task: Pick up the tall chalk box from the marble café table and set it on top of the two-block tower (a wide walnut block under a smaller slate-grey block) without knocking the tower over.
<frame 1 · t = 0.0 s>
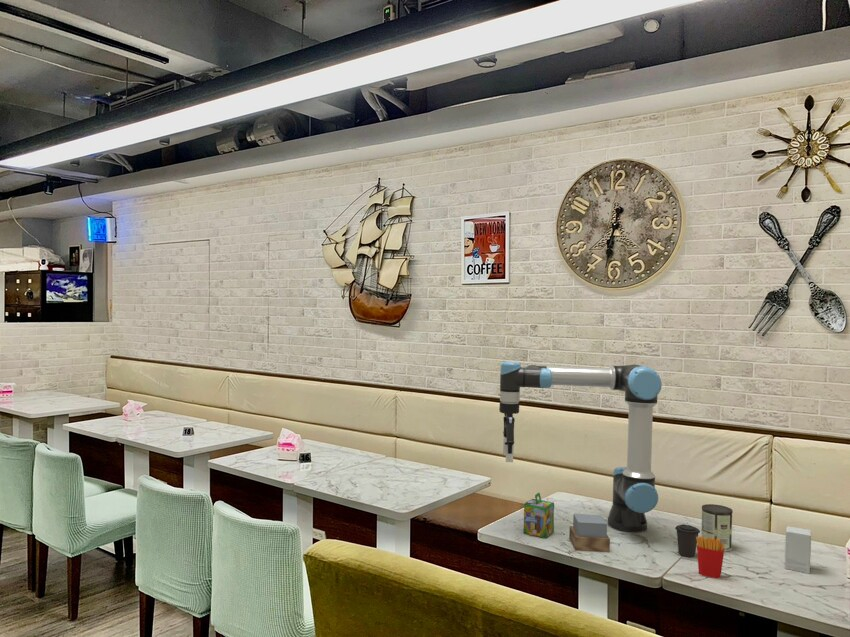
hand: (507, 458, 238), 28 cm above the table, tool pointing down, fingers open, 13 cm apart
french fries: (708, 575, 202), on the table
supplement box: (797, 568, 210), on the table
chalk box: (538, 533, 238), on the table
coffee cup: (686, 555, 219), on the table
coffee can: (715, 547, 228), on the table
slate top block: (589, 532, 226), point 5 cm above the table
walnut base block: (588, 546, 226), on the table
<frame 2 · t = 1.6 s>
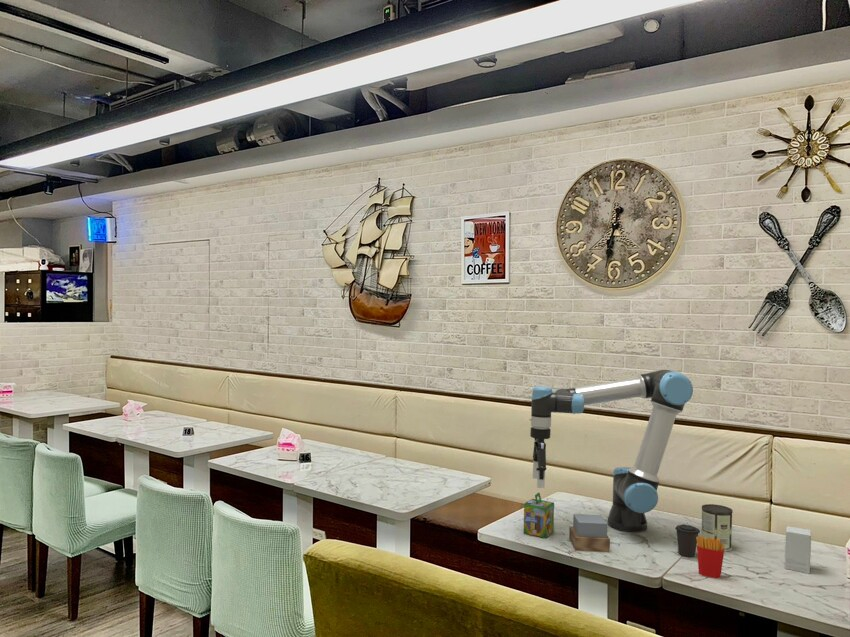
hand: (538, 483, 238), 19 cm above the table, tool pointing down, fingers open, 13 cm apart
slate top block: (589, 532, 226), point 5 cm above the table, touching walnut base block
walnut base block: (588, 546, 226), on the table, touching slate top block
everything else where it was.
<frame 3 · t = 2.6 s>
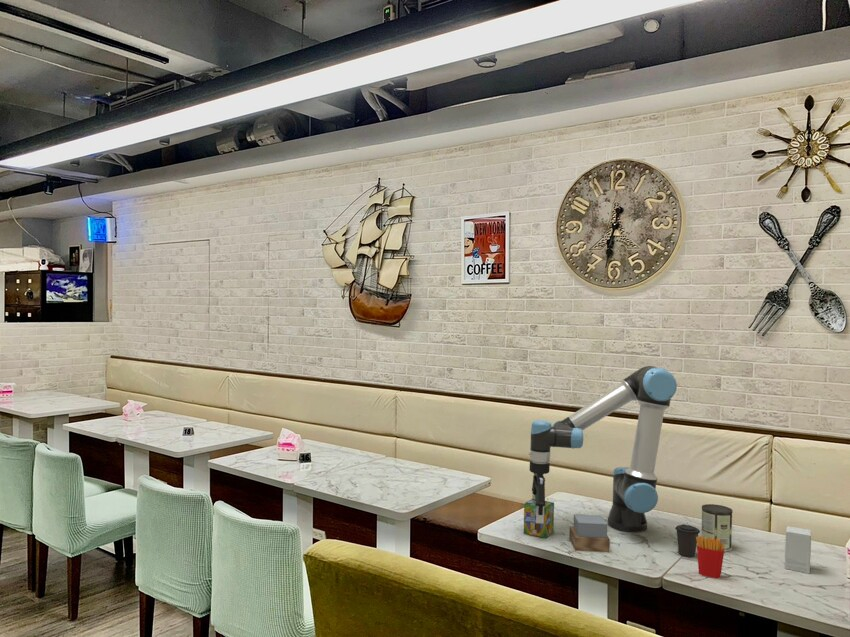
hand: (537, 517, 238), 6 cm above the table, tool pointing down, fingers open, 13 cm apart
nothing on the table moved.
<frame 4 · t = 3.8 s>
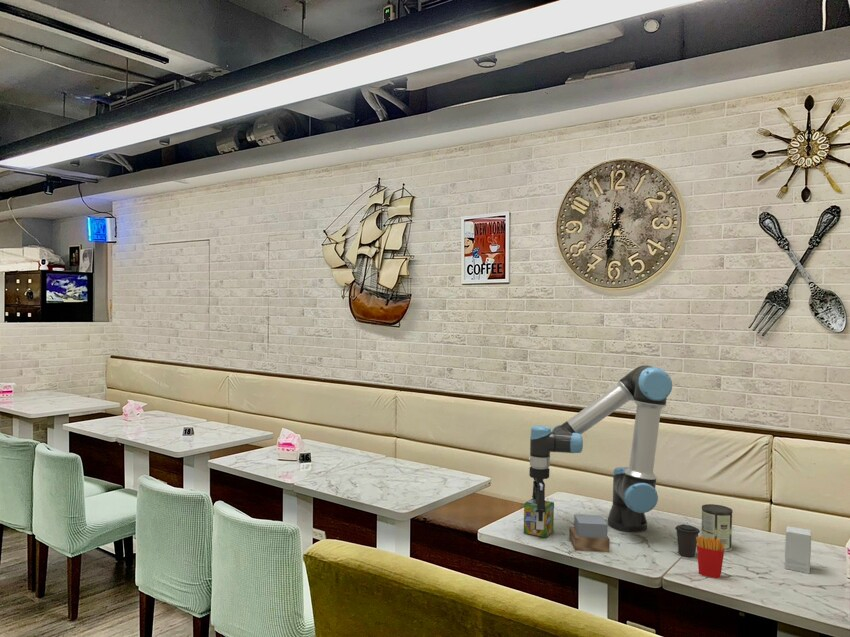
hand: (537, 523, 238), 3 cm above the table, tool pointing down, fingers closed on chalk box, 12 cm apart
chalk box: (538, 533, 238), on the table, touching gripper
everything else where it was.
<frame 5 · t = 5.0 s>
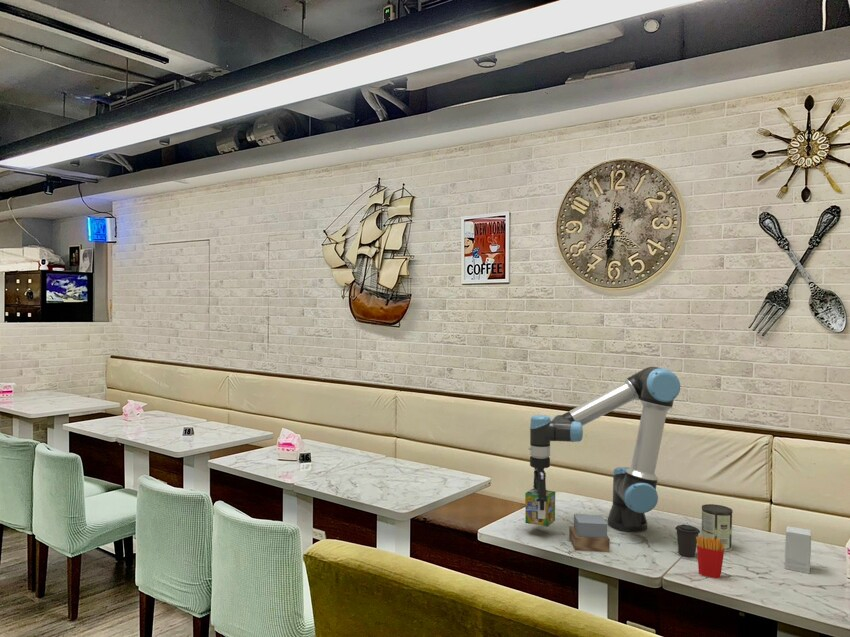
hand: (539, 513, 238), 7 cm above the table, tool pointing down, fingers closed on chalk box, 12 cm apart
chalk box: (540, 522, 238), point 4 cm above the table, touching gripper
slate top block: (589, 532, 226), point 5 cm above the table
walnut base block: (588, 546, 226), on the table
everything else where it was.
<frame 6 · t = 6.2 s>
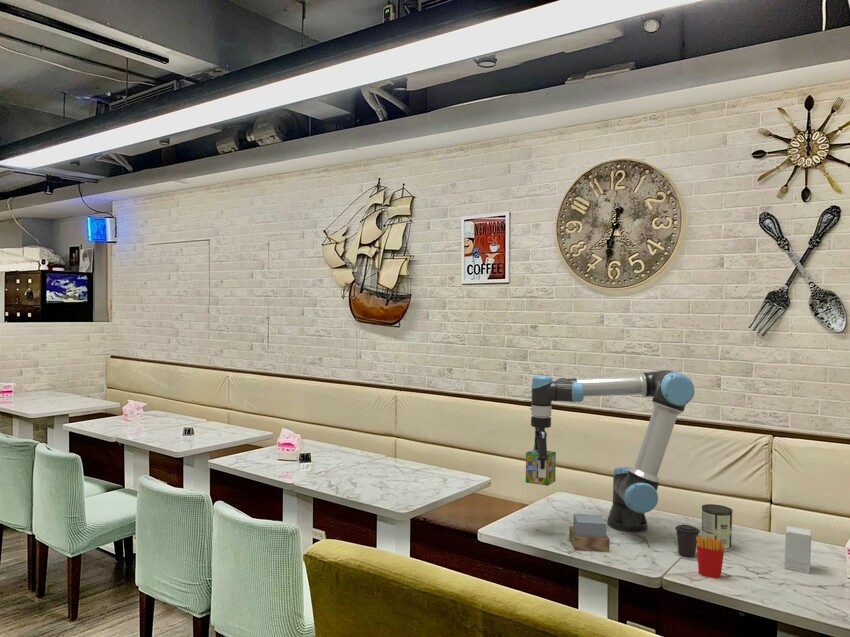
hand: (539, 473, 238), 23 cm above the table, tool pointing down, fingers closed on chalk box, 12 cm apart
chalk box: (540, 482, 238), point 19 cm above the table, touching gripper
slate top block: (589, 532, 226), point 5 cm above the table, touching walnut base block
walnut base block: (588, 546, 226), on the table, touching slate top block
everything else where it was.
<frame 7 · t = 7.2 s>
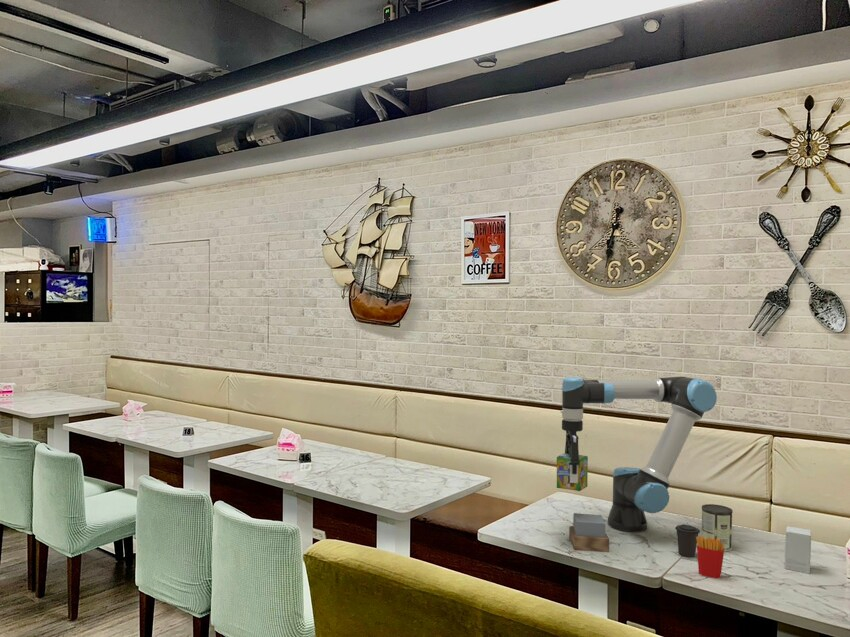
hand: (571, 478, 231), 23 cm above the table, tool pointing down, fingers closed on chalk box, 12 cm apart
chalk box: (572, 487, 231), point 19 cm above the table, touching gripper
everything else where it was.
when the fingers open (15 cm above the table, at t = 10.3 s): chalk box drops 2 cm, resting on slate top block.
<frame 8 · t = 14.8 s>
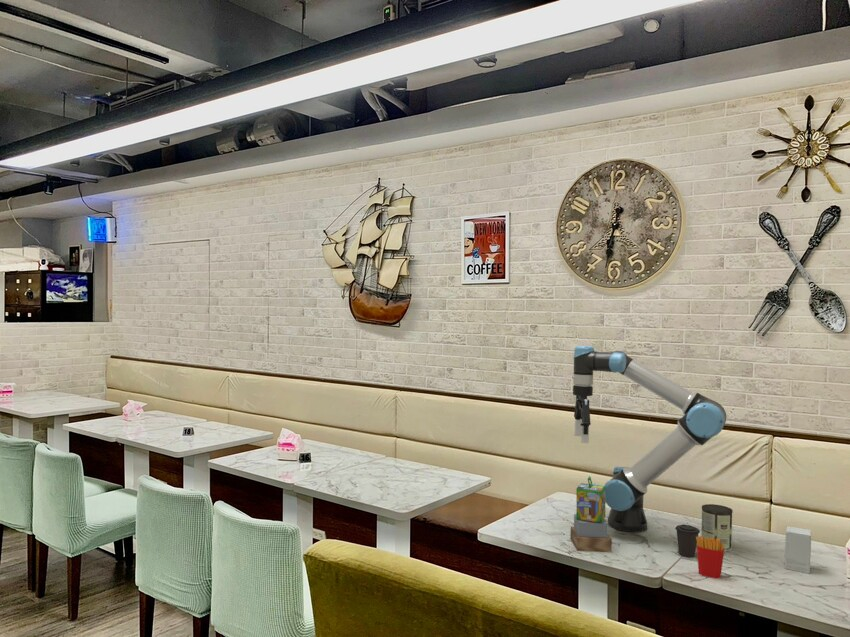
hand: (581, 439, 245), 35 cm above the table, tool pointing down, fingers open, 13 cm apart
chalk box: (590, 519, 226), point 9 cm above the table, touching slate top block
slate top block: (590, 532, 226), point 5 cm above the table, touching chalk box
walnut base block: (590, 546, 226), on the table
everything else where it was.
at the end: chalk box 0.4 cm off-centre on the slate top block, point 4.8 cm above the slate top block's base; chalk box tilted 0°; slate top block moved 0.7 cm from its start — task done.
